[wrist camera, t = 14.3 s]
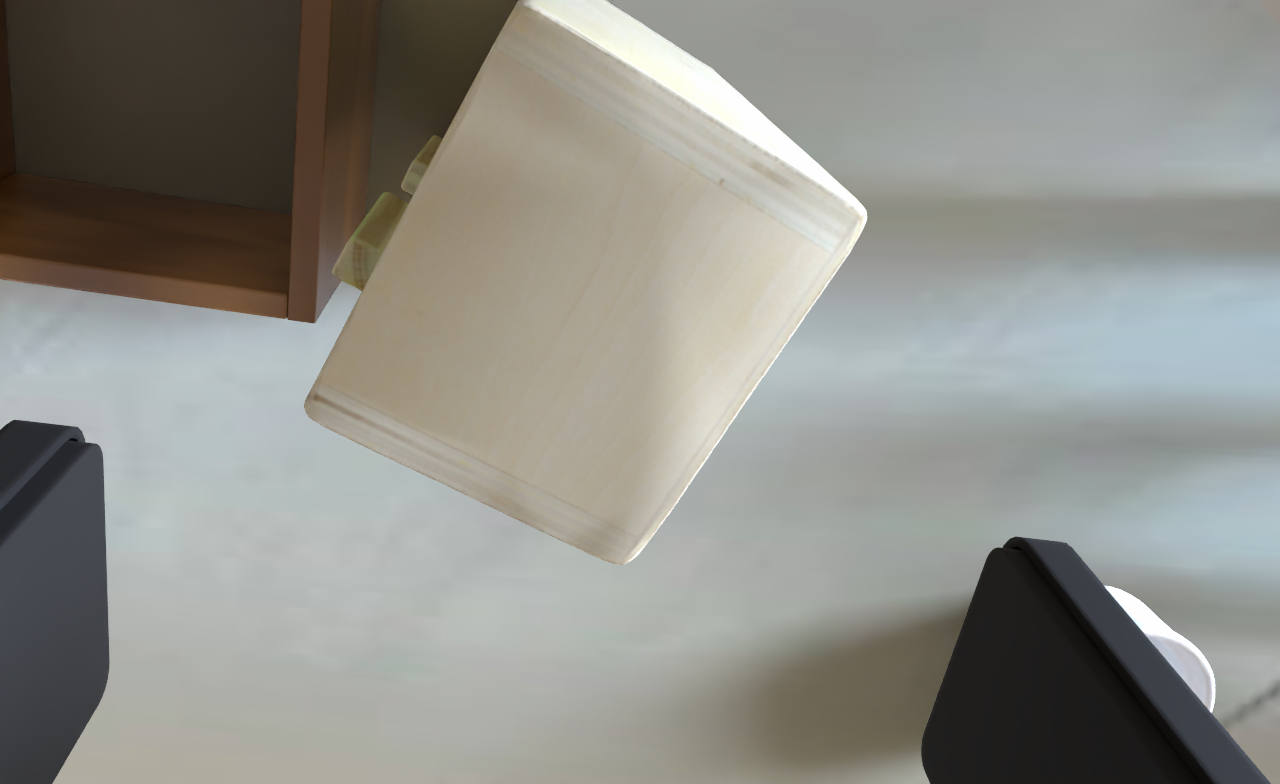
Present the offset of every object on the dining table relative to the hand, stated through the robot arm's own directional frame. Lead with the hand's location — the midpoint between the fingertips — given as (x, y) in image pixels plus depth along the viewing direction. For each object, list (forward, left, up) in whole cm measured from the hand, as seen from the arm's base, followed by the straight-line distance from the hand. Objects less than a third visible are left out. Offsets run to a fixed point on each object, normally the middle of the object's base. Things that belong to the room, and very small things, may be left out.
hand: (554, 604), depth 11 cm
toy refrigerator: (0, +1, -28) cm, 28 cm away
